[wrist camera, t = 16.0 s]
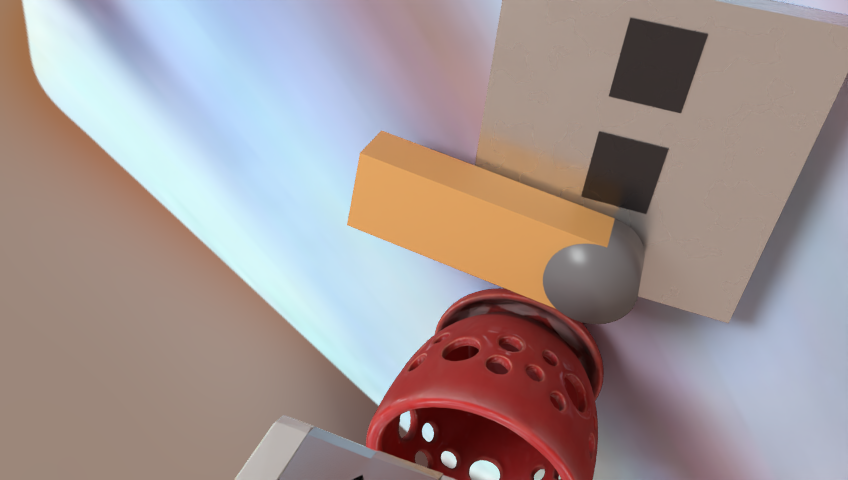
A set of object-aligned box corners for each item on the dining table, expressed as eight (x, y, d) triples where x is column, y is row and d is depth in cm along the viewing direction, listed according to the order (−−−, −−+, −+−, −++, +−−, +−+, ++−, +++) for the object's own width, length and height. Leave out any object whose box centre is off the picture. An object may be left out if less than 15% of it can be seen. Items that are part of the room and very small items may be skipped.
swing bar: (381, 130, 41) (357, 155, 39) (659, 235, 39) (653, 268, 36) (367, 200, 44) (345, 227, 42) (624, 301, 42) (617, 337, 39)
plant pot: (432, 251, 48) (358, 370, 39) (632, 297, 44) (604, 441, 35) (426, 389, 55) (363, 517, 46) (597, 438, 52) (566, 588, 42)
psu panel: (861, 17, 32) (868, 31, 31) (728, 302, 42) (728, 324, 41) (519, -50, 36) (508, -41, 34) (471, 227, 46) (461, 244, 44)
